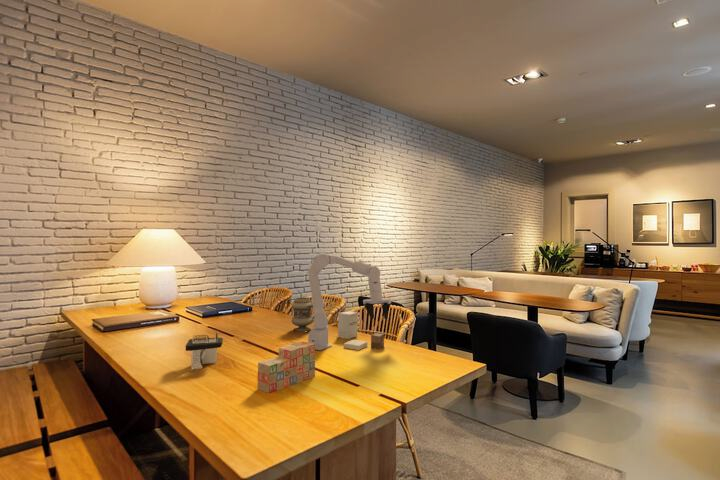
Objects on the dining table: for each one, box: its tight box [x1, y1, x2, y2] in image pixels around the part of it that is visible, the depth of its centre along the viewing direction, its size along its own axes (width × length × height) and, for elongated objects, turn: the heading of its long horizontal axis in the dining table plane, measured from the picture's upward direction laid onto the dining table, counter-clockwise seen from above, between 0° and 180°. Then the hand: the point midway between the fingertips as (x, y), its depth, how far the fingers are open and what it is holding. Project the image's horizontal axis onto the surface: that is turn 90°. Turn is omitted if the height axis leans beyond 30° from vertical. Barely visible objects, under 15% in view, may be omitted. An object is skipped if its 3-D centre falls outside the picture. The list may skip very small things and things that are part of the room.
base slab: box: [343, 339, 368, 351], centre depth 187 cm, size 8×8×2 cm
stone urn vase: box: [291, 296, 314, 333], centre depth 220 cm, size 12×12×18 cm
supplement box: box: [337, 311, 358, 340], centre depth 206 cm, size 7×7×13 cm
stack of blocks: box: [257, 341, 316, 394], centre depth 140 cm, size 21×6×12 cm, turn 142°
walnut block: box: [370, 332, 385, 350], centre depth 186 cm, size 4×4×6 cm
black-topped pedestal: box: [185, 330, 224, 371], centre depth 157 cm, size 28×26×13 cm
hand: (379, 318), depth 191 cm, fingers open, 7 cm apart
